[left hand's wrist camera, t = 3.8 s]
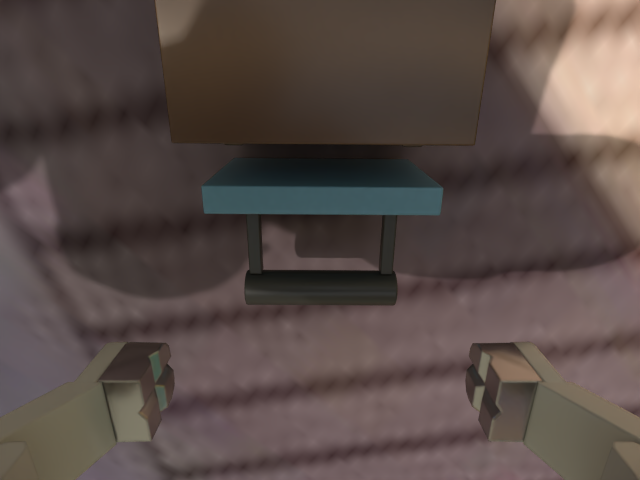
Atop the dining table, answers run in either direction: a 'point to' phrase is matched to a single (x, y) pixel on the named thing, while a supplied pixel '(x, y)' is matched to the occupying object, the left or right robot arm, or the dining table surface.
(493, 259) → the dining table surface
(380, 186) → the drawer
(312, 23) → the cabinet
